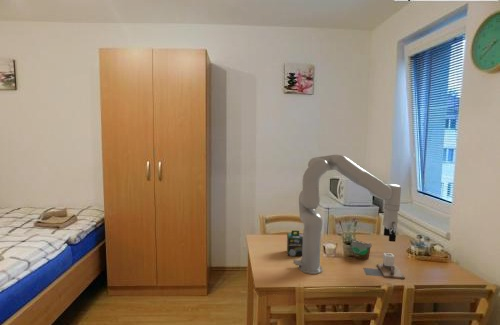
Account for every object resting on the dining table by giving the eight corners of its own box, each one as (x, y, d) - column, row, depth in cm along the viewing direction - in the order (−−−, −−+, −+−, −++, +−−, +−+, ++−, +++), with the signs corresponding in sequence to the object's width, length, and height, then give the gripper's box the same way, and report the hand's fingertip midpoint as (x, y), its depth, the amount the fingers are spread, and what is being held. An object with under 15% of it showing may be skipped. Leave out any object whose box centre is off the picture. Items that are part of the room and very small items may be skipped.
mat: (366, 275, 162) (366, 274, 162) (362, 268, 170) (362, 267, 170) (384, 276, 160) (384, 276, 160) (380, 269, 169) (380, 269, 169)
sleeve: (385, 268, 168) (385, 255, 167) (382, 265, 172) (383, 252, 172) (393, 269, 167) (394, 256, 167) (391, 265, 172) (391, 253, 171)
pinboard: (384, 277, 159) (384, 267, 159) (376, 265, 174) (377, 256, 174) (404, 279, 158) (405, 269, 157) (395, 267, 173) (396, 258, 172)
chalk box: (301, 251, 194) (302, 228, 193) (302, 257, 185) (303, 232, 183) (286, 250, 194) (287, 227, 193) (287, 256, 185) (288, 232, 184)
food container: (346, 256, 187) (347, 240, 186) (351, 254, 191) (351, 238, 190) (366, 262, 178) (367, 245, 177) (371, 259, 183) (372, 243, 182)
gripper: (380, 203, 176) (378, 233, 177) (389, 210, 159) (386, 243, 160) (394, 204, 175) (391, 234, 176) (404, 211, 158) (401, 244, 159)
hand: (389, 238), depth 168 cm, fingers open, 9 cm apart
